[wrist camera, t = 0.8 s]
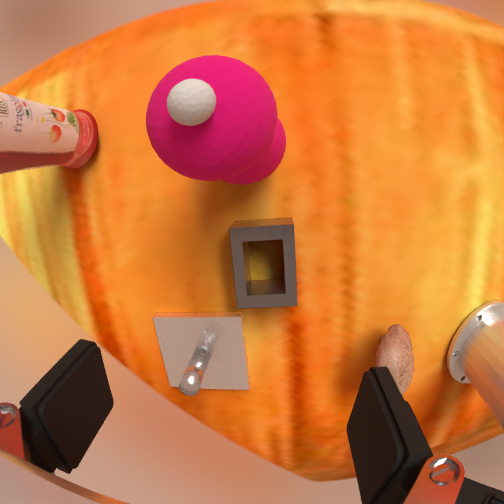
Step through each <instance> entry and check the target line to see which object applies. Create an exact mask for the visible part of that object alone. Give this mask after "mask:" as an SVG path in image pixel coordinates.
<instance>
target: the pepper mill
mask: <svg viewBox="0 0 504 504" xmlns="http://www.w3.org/2000/svg"><path fill="white" fill-rule="evenodd" d="M146 127H147V133H148V136H149V139H150V141H151V144H152V147H153V148H154V150H155V152H156V153H157V155H158V156H159V157H160V158H161V160H162V161H163V162H164V163H165V164H166V165H168V166H169V167H170V168H171V169H173V170H174V171H176V172H178V173H179V174H181V175H183V176H186V177H189V178H192V179H197V180H204V181H217V180H223V181H226V182H229V183H233V184H244V185H245V184H251V183H255V182H258V181H260V180H262V179H264V178H266V177H267V176H269V175H270V174H271V173H272V172H273V171H274V170H275V169H276V168H277V167H278V165H279V164H280V162H281V160H282V158H283V155H284V152H285V147H286V137H285V131H284V128H283V126H282V124H281V122H280V120H279V119H278V117H277V107H276V102H275V99H274V96H273V93H272V91H271V89H270V87H269V85H268V84H267V82H266V81H265V80H264V78H263V77H262V76H261V75H260V74H259V73H258V72H257V71H256V70H255V69H253V68H252V67H250V66H248V65H247V64H245V63H243V62H242V61H240V60H237V59H234V58H230V57H226V56H219V55H211V56H201V57H197V58H194V59H191V60H188V61H185V62H183V63H182V64H180V65H178V66H176V67H175V68H174V69H172V70H171V71H170V72H169V73H167V74H166V75H165V77H164V78H163V79H162V80H161V81H160V82H159V83H158V85H157V87H156V88H155V90H154V91H153V93H152V96H151V98H150V101H149V104H148V108H147V112H146Z"/></svg>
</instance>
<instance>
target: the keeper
mask: <svg viewBox="0 0 504 504" xmlns="http://www.w3.org/2000/svg"><path fill="white" fill-rule="evenodd" d="M153 320H154V325H155V329H156V333H157V337H158V341H159V345H160V349H161V353H162V357H163V361H164V365H165V368H166V372H167V376H168V379H169V383H170V386H171V387H179V389H180V391H181V392H182V393H184V394H186V395H189V396H193V395H196V394H197V393H198V390H199V388H202V389H235V390H249V388H250V377H249V368H248V359H247V350H246V341H245V332H244V323H243V314H242V312H208V313H156V314H155V315H154V316H153Z"/></svg>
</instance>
